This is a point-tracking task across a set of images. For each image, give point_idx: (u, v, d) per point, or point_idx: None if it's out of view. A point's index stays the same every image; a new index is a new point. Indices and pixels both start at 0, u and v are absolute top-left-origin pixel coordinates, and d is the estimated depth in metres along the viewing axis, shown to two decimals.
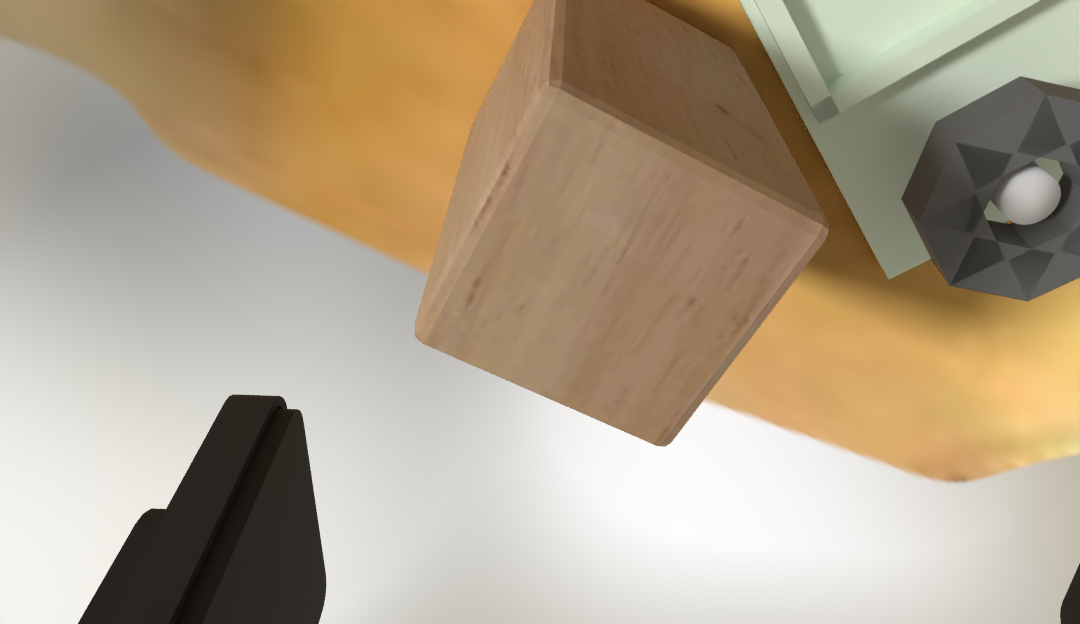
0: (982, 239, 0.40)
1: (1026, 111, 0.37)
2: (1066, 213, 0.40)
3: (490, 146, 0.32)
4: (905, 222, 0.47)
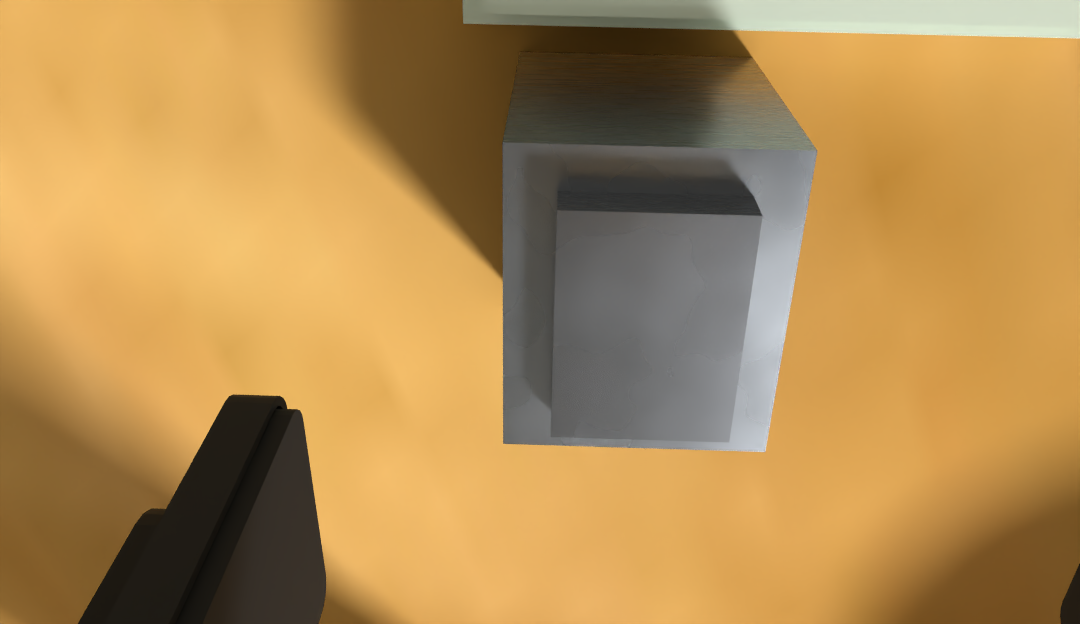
0: None
1: None
2: None
3: None
4: None
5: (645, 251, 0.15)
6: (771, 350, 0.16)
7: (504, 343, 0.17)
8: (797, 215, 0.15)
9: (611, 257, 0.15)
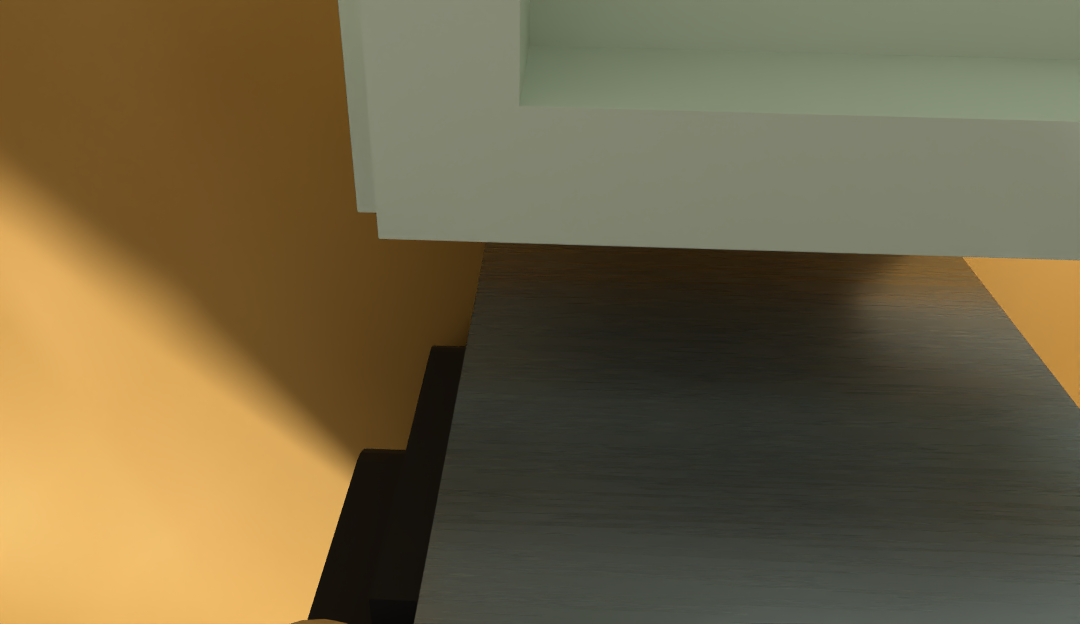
0: None
1: None
2: None
3: None
4: None
5: None
6: None
7: None
8: None
9: None
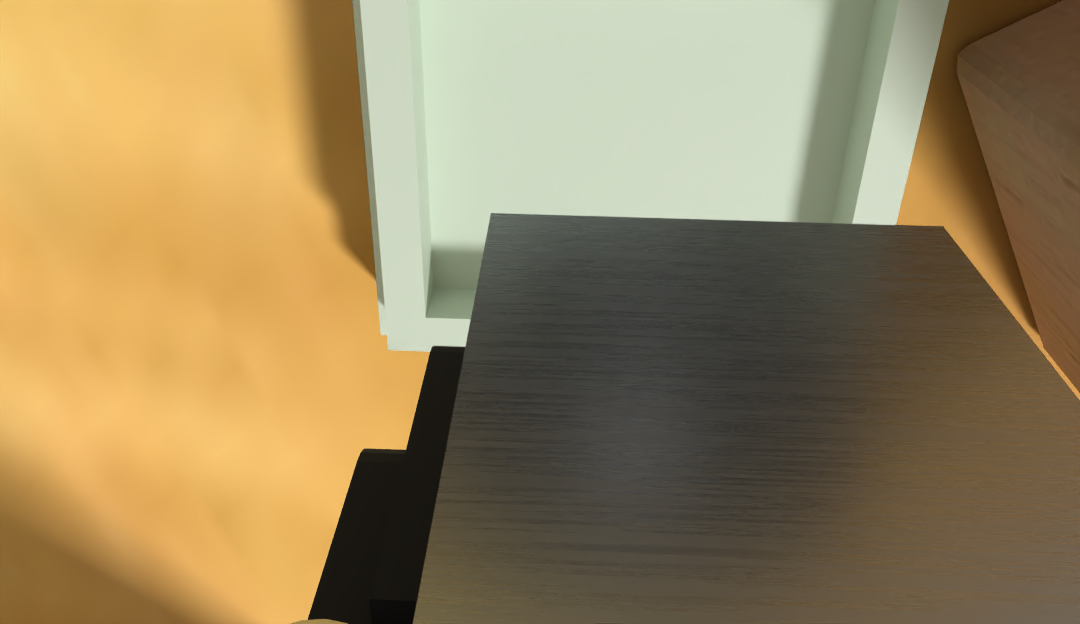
0: None
1: None
2: None
3: None
4: None
5: None
6: None
7: None
8: None
9: None
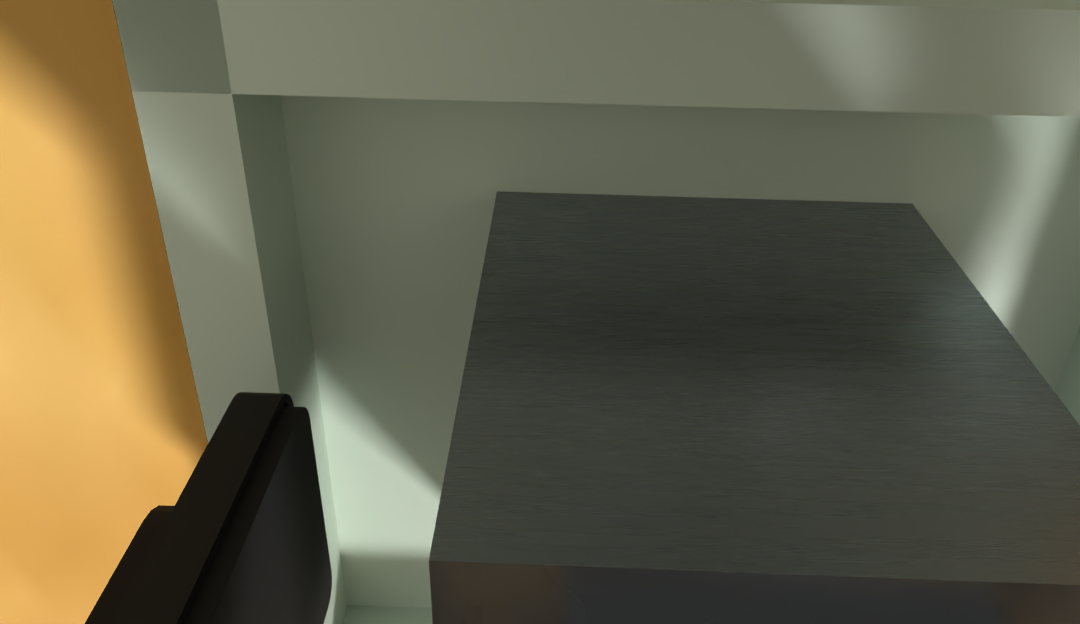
0: None
1: None
2: None
3: None
4: None
5: None
6: None
7: None
8: None
9: None
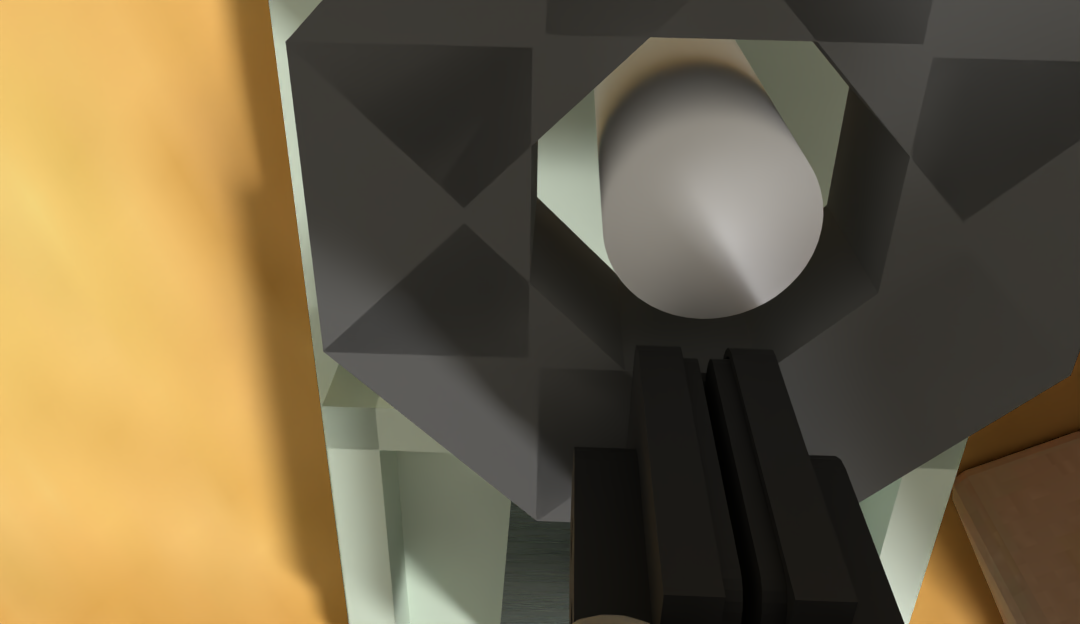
0: (947, 197, 0.10)
1: None
2: None
3: None
4: None
5: None
6: None
7: None
8: None
9: None
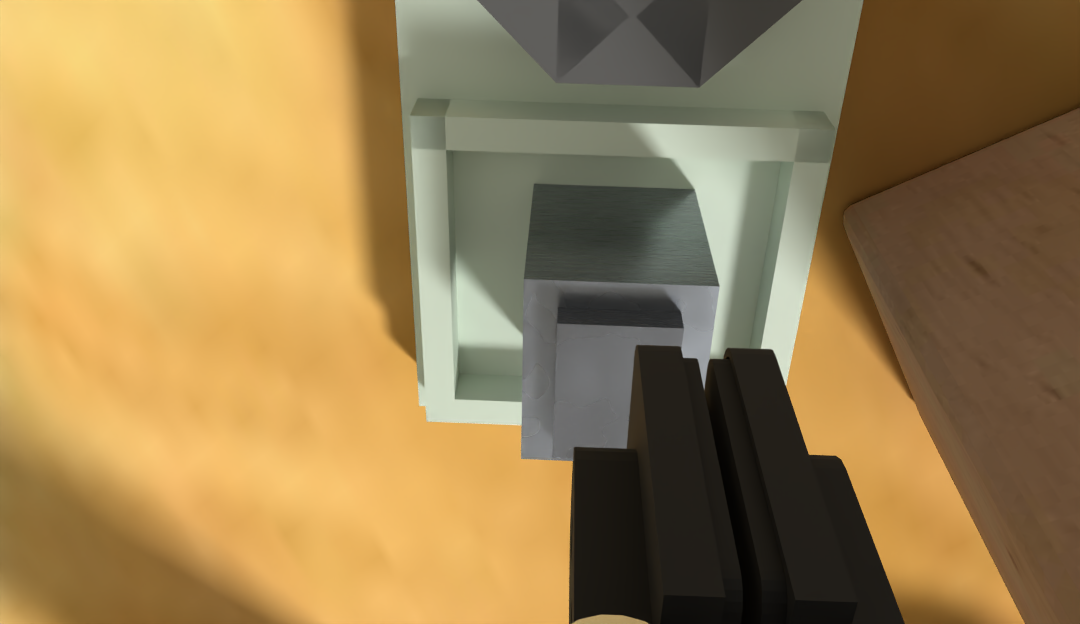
0: None
1: (590, 74, 0.24)
2: None
3: None
4: None
5: (611, 347, 0.24)
6: None
7: (522, 396, 0.25)
8: (708, 323, 0.24)
9: (590, 350, 0.24)
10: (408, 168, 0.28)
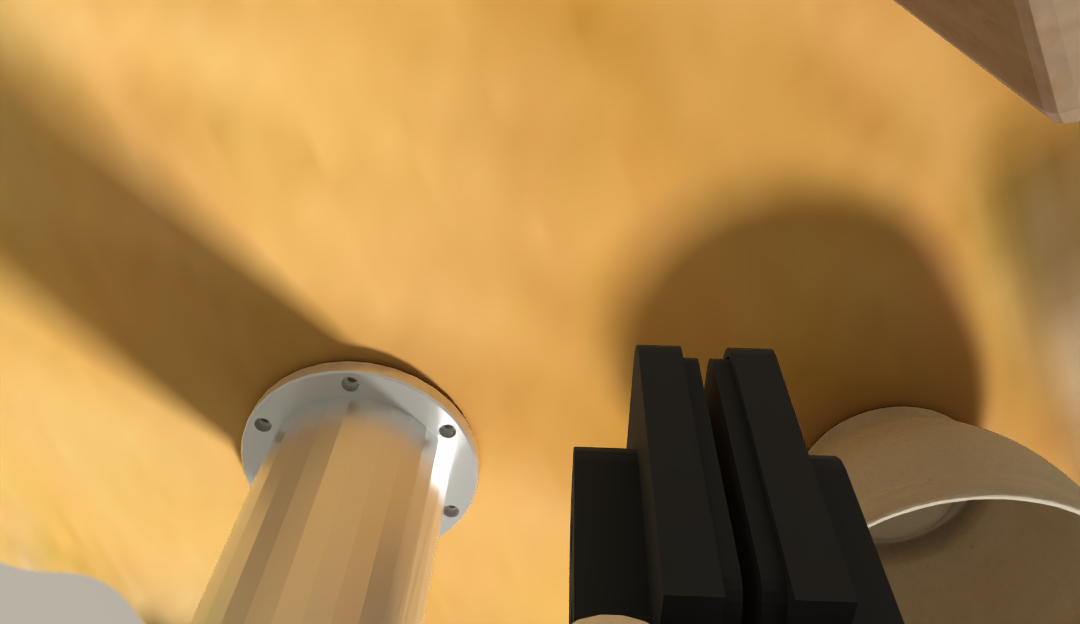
0: None
1: None
2: None
3: None
4: None
5: None
6: None
7: None
8: None
9: None
10: None
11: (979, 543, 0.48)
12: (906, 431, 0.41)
